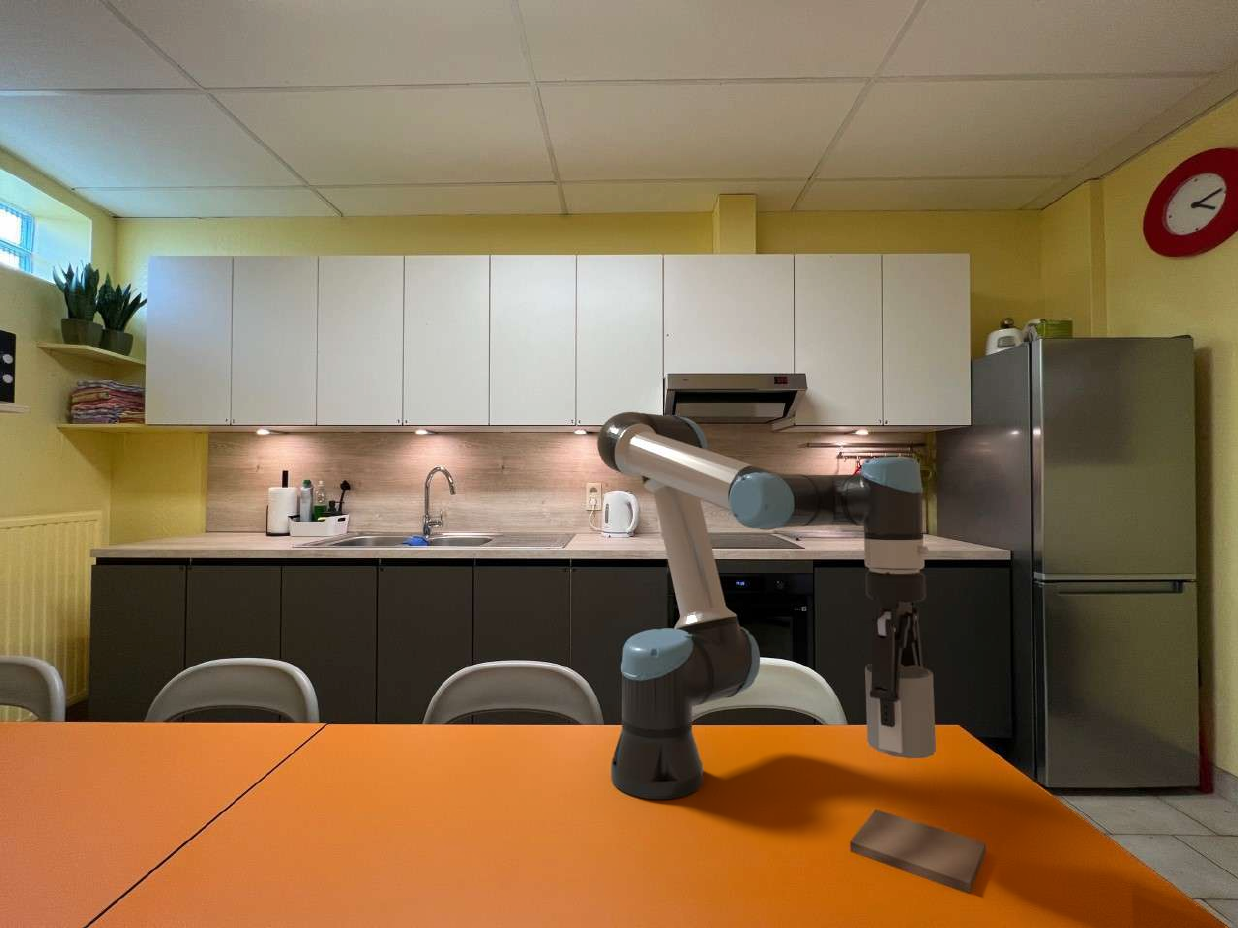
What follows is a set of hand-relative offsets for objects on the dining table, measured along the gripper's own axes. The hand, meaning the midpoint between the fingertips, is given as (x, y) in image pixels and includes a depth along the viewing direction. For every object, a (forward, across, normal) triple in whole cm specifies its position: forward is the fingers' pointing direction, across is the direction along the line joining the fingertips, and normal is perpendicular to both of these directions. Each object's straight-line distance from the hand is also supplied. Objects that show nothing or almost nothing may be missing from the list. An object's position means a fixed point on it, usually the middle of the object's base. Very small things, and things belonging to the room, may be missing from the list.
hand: (900, 739), depth 85 cm
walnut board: (+14, 0, -2) cm, 14 cm away
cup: (+1, 0, 0) cm, 1 cm away
